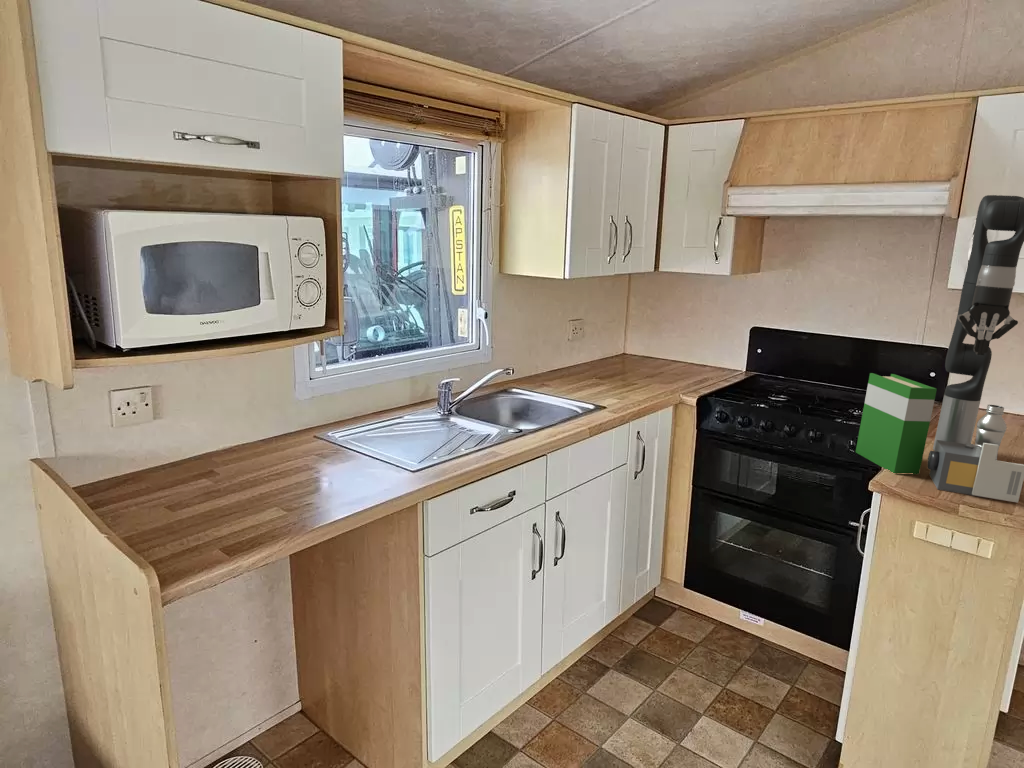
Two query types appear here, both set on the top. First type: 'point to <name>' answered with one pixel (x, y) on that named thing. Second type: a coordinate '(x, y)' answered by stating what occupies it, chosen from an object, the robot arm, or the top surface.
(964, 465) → the camera housing
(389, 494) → the top surface
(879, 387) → the hardback book
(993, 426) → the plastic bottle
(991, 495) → the side door
